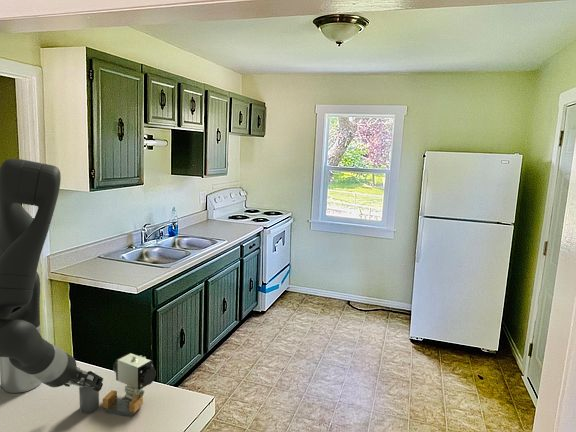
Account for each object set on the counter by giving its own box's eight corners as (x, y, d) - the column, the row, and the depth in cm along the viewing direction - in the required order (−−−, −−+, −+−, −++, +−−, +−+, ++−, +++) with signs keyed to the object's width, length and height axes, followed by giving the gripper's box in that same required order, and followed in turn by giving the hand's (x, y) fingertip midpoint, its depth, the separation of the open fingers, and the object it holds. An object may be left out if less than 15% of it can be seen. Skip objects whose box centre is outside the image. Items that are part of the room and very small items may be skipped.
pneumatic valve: (143, 407, 110) (143, 365, 108) (112, 394, 115) (112, 354, 113) (158, 397, 115) (158, 357, 113) (128, 385, 120) (128, 346, 118)
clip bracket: (102, 411, 107) (102, 399, 107) (112, 401, 112) (112, 389, 111) (133, 417, 106) (133, 404, 105) (143, 406, 110) (143, 394, 110)
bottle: (75, 412, 107) (74, 376, 105) (87, 401, 111) (86, 367, 110) (91, 414, 106) (91, 378, 105) (102, 404, 110) (102, 369, 109)
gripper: (86, 352, 94) (116, 374, 107) (31, 344, 96) (67, 366, 109) (70, 386, 90) (103, 404, 102) (13, 377, 92) (53, 396, 105)
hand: (84, 384), depth 106 cm, fingers open, 8 cm apart
